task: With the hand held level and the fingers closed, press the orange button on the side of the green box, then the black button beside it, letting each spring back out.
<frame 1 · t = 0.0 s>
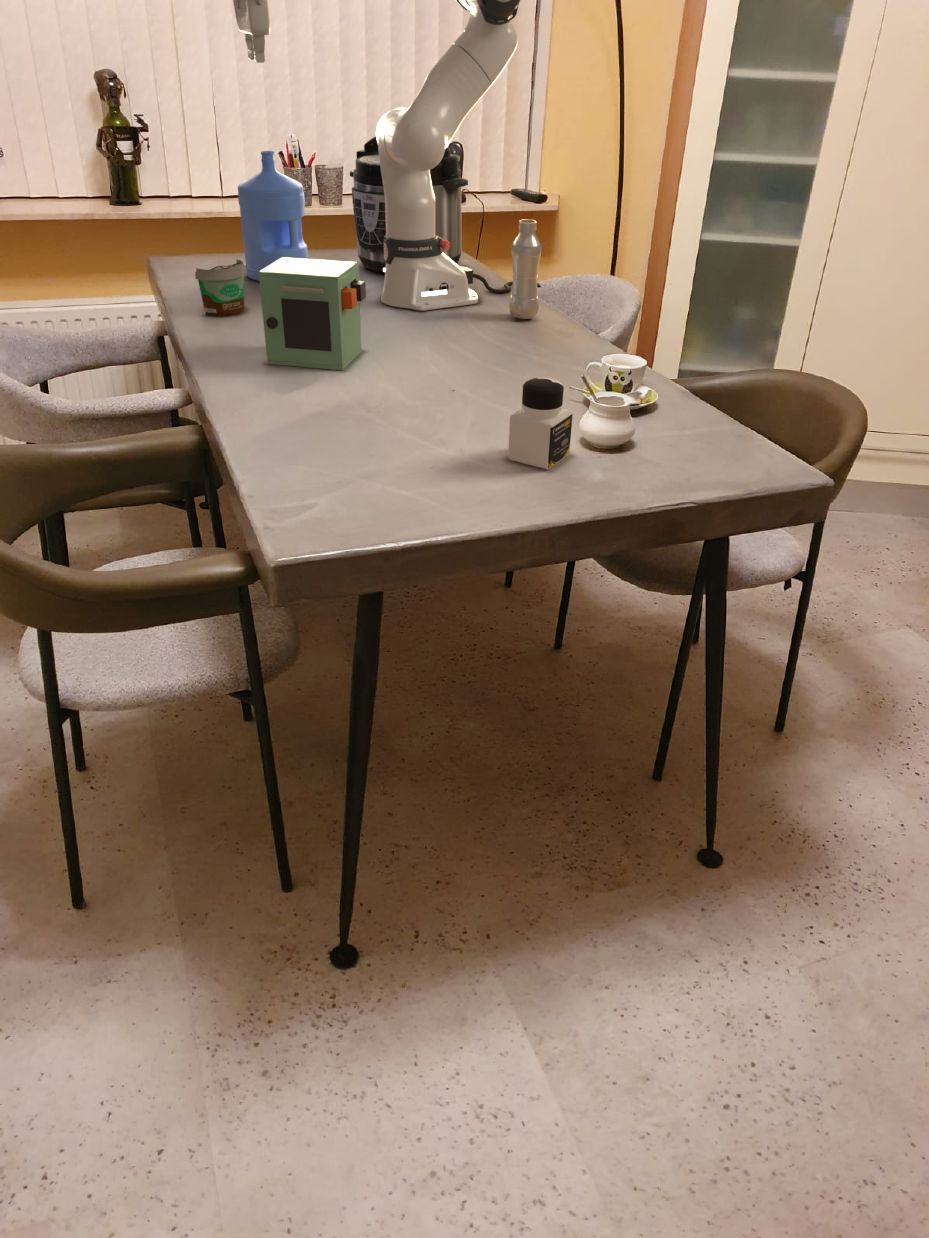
hand: (256, 61, 188), 48 cm above the table, tool pointing down, fingers open, 8 cm apart
pressure cooker: (407, 266, 250), on the table
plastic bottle: (523, 319, 211), on the table
start button: (346, 298, 176), point 12 cm above the table, slide at 0.1 cm
medicine bottle: (538, 458, 148), on the table
food container: (231, 314, 211), on the table
water jug: (278, 276, 240), on the table
timer button: (355, 291, 180), point 12 cm above the table, slide at 0.1 cm
green box: (315, 357, 186), on the table
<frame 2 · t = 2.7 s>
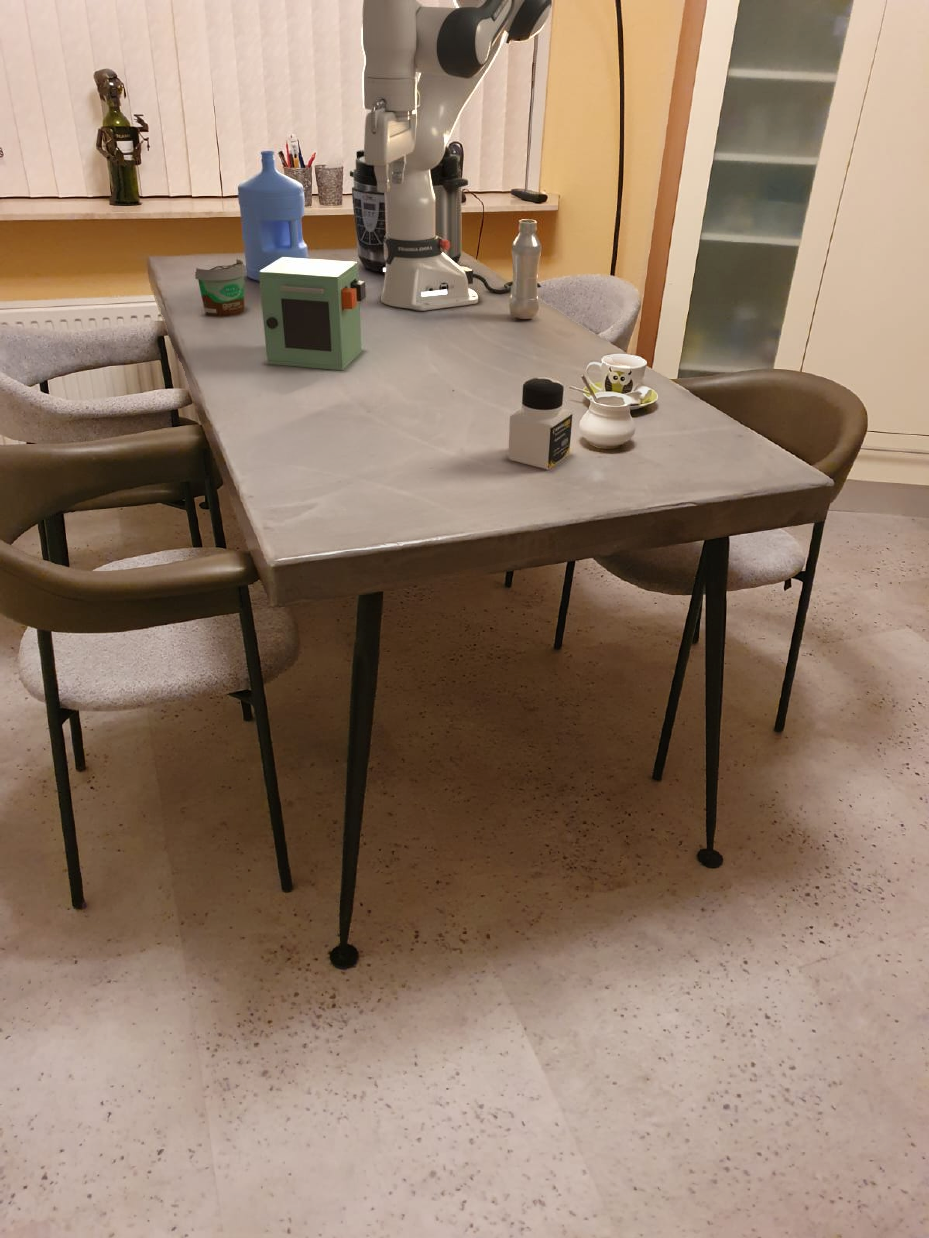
hand: (390, 187, 167), 31 cm above the table, tool pointing down, fingers open, 8 cm apart
nothing on the table moved.
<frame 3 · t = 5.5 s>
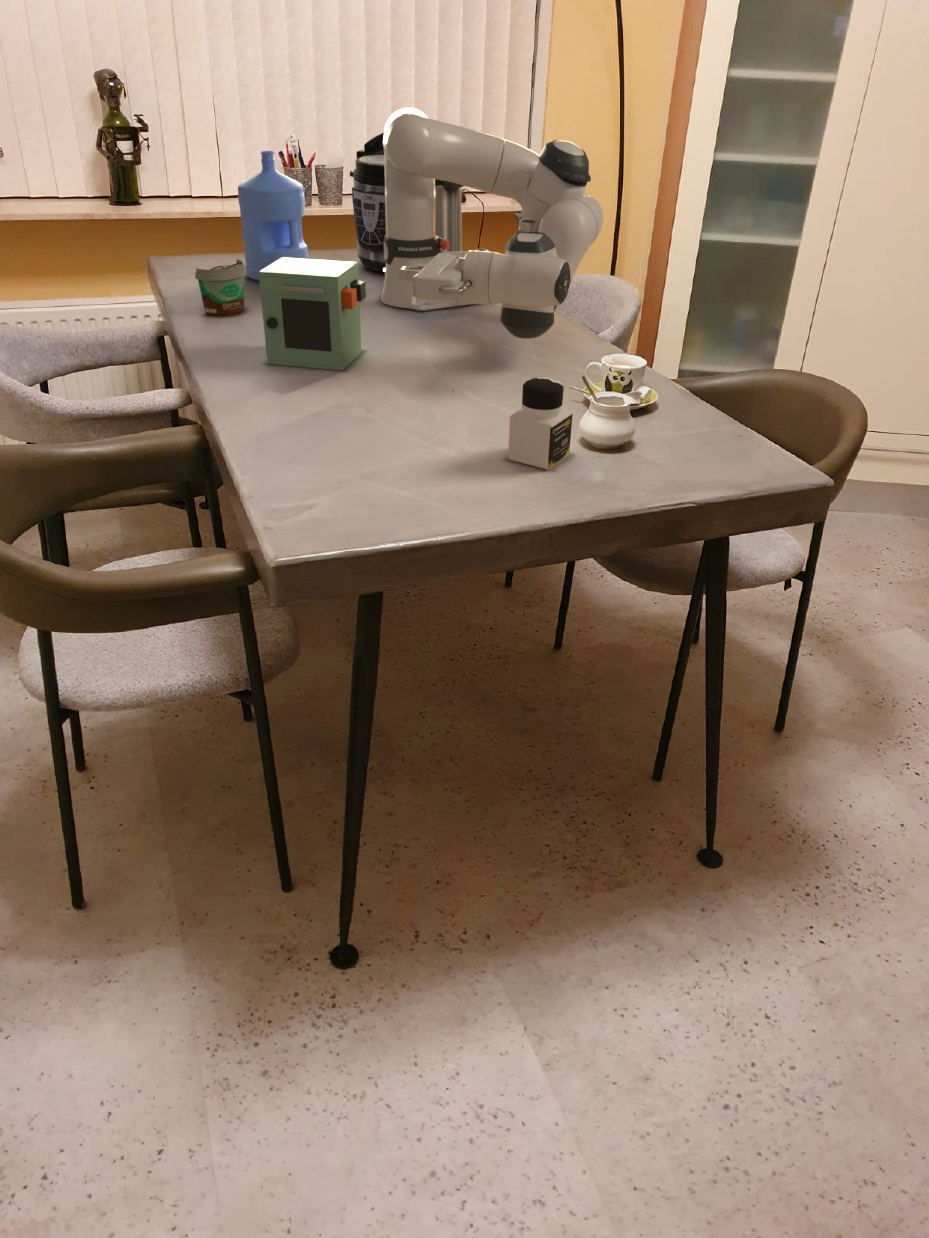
hand: (400, 273, 171), 18 cm above the table, tool horizontal, fingers closed
nothing on the table moved.
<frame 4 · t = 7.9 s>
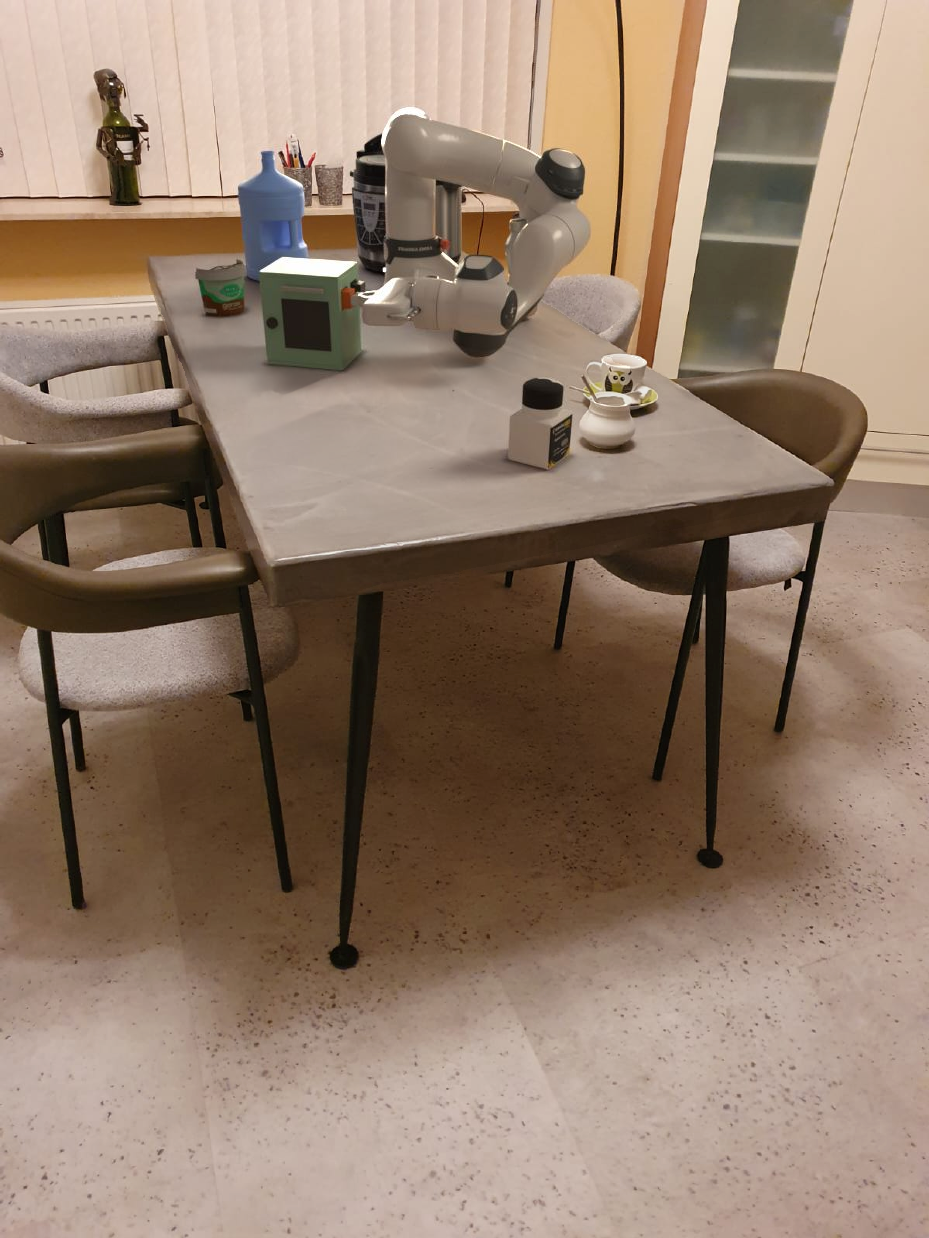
hand: (352, 298, 176), 13 cm above the table, tool horizontal, fingers closed, pressing on start button
start button: (344, 298, 176), point 12 cm above the table, slide at -0.3 cm, touching gripper
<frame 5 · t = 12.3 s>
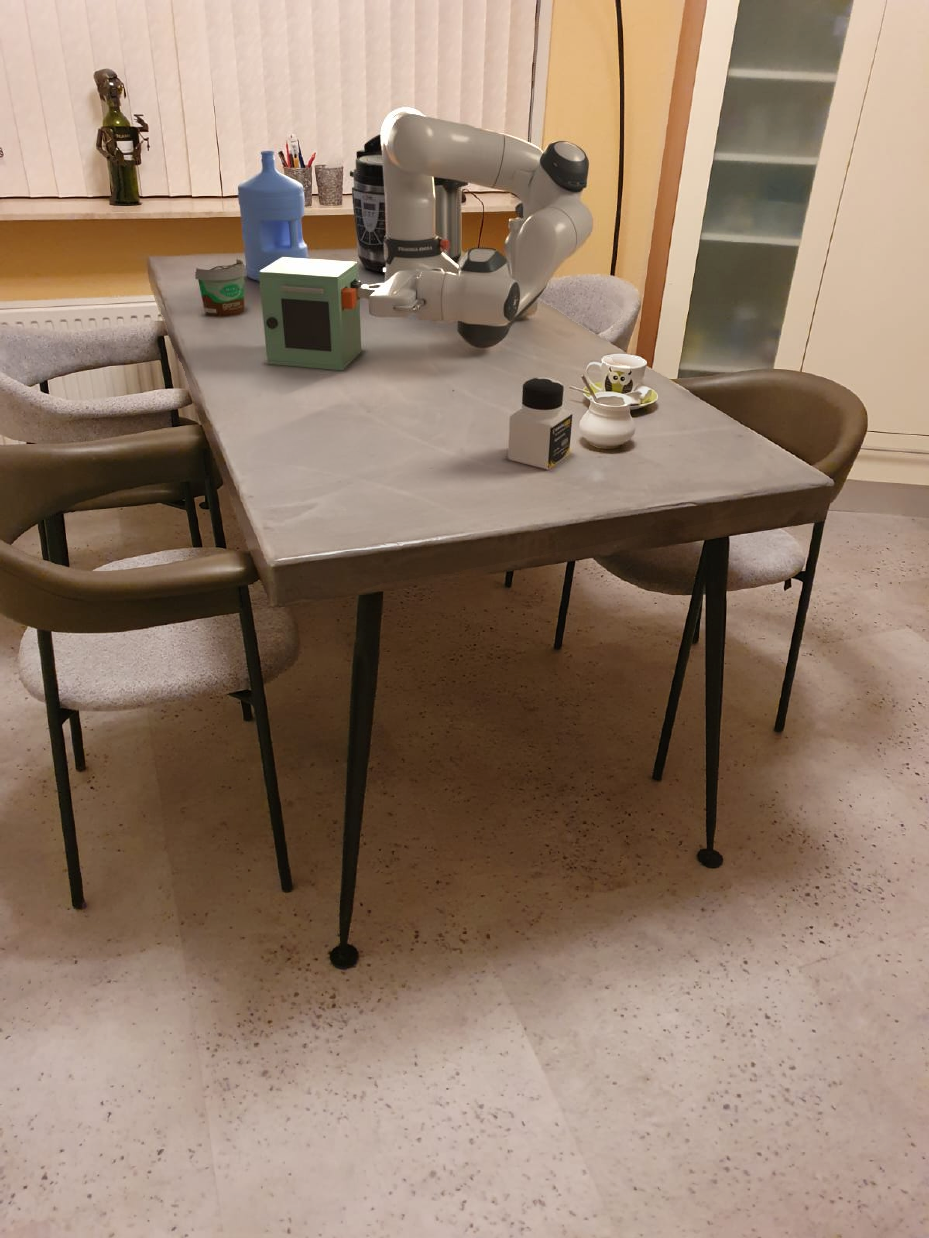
hand: (359, 291, 180), 13 cm above the table, tool horizontal, fingers closed, pressing on timer button
start button: (346, 298, 176), point 12 cm above the table, slide at 0.1 cm
timer button: (351, 290, 180), point 12 cm above the table, slide at -0.7 cm, touching gripper
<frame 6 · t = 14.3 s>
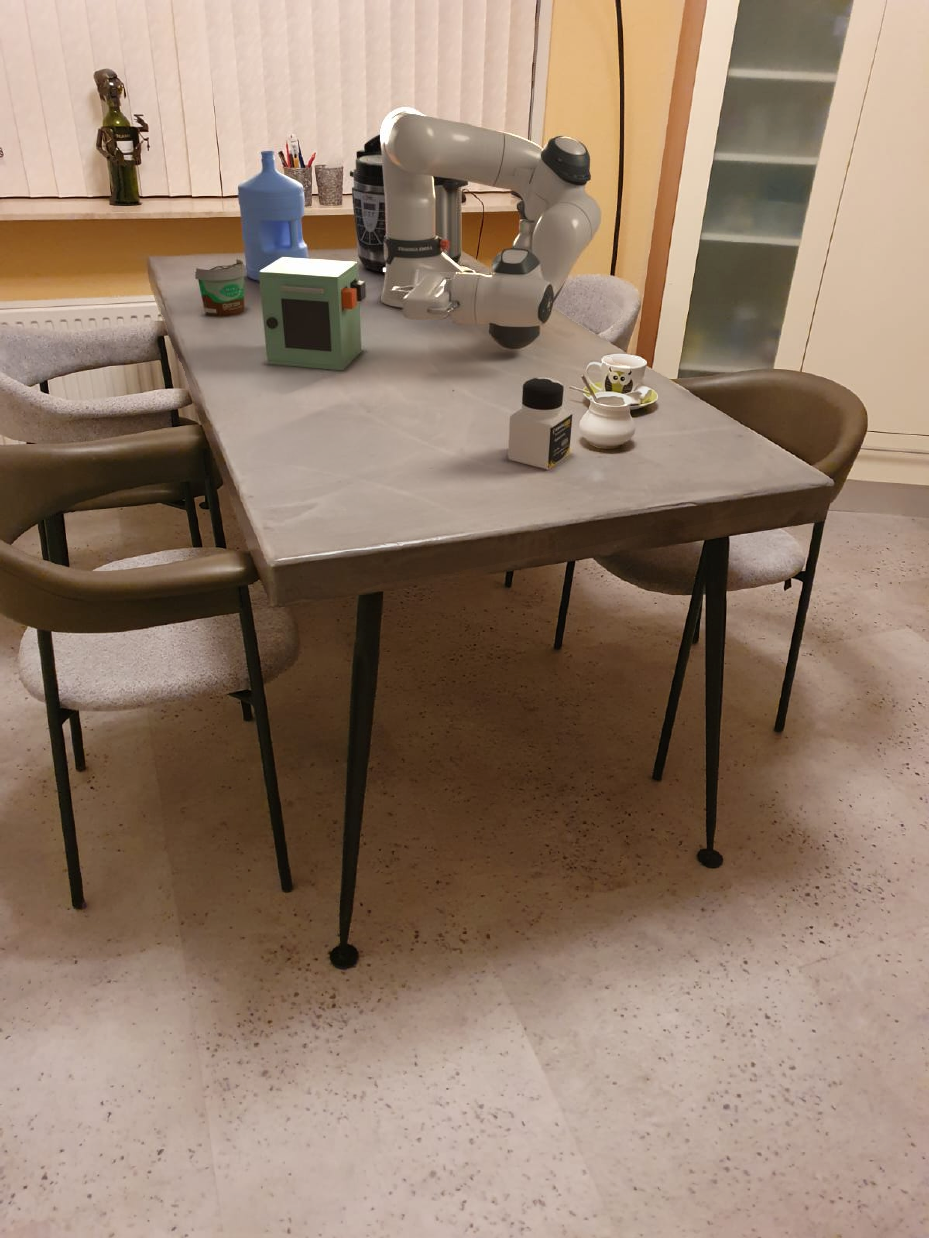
hand: (391, 293, 179), 13 cm above the table, tool horizontal, fingers closed
timer button: (355, 291, 180), point 12 cm above the table, slide at 0.1 cm
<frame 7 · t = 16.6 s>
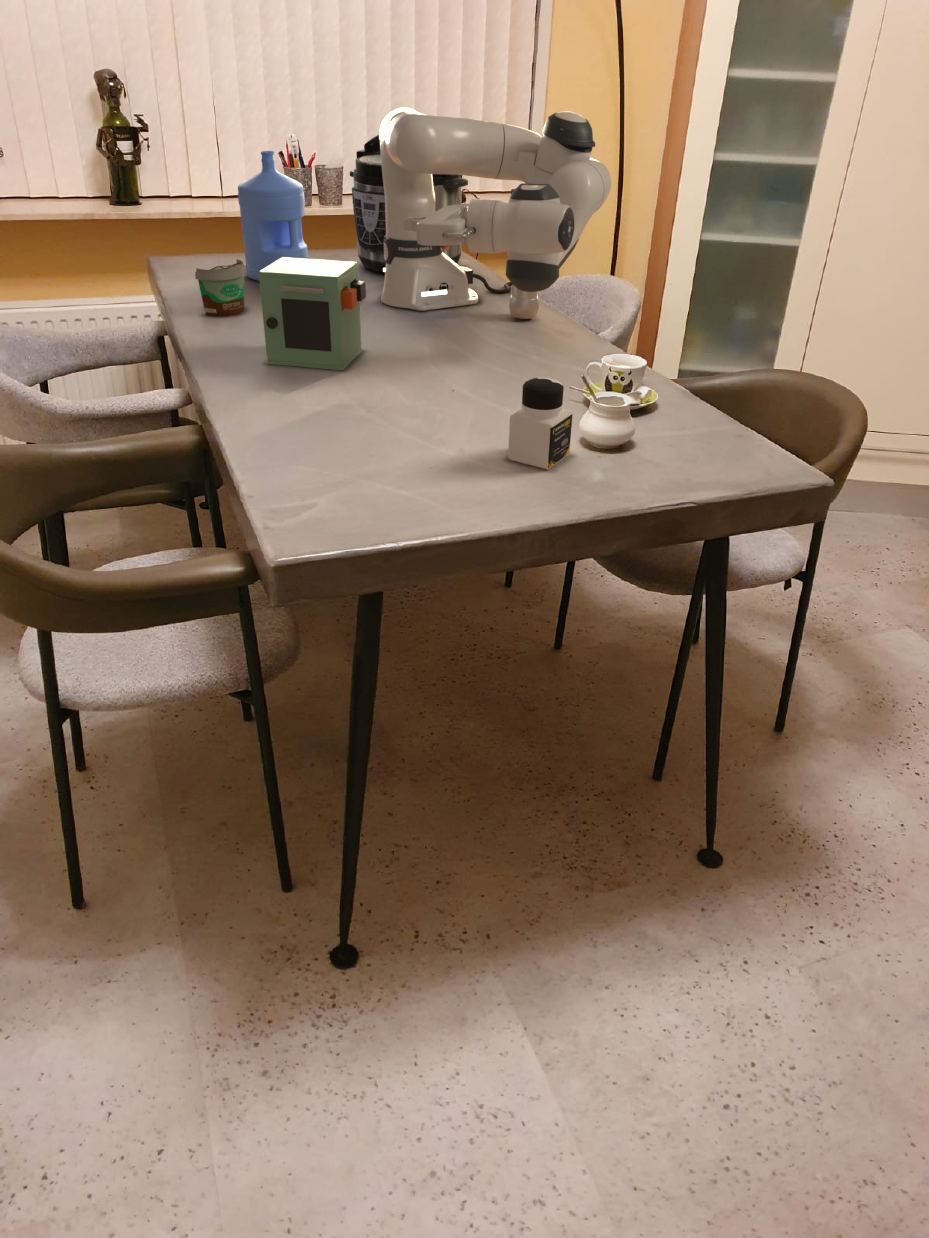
hand: (405, 224, 172), 25 cm above the table, tool horizontal, fingers closed
nothing on the table moved.
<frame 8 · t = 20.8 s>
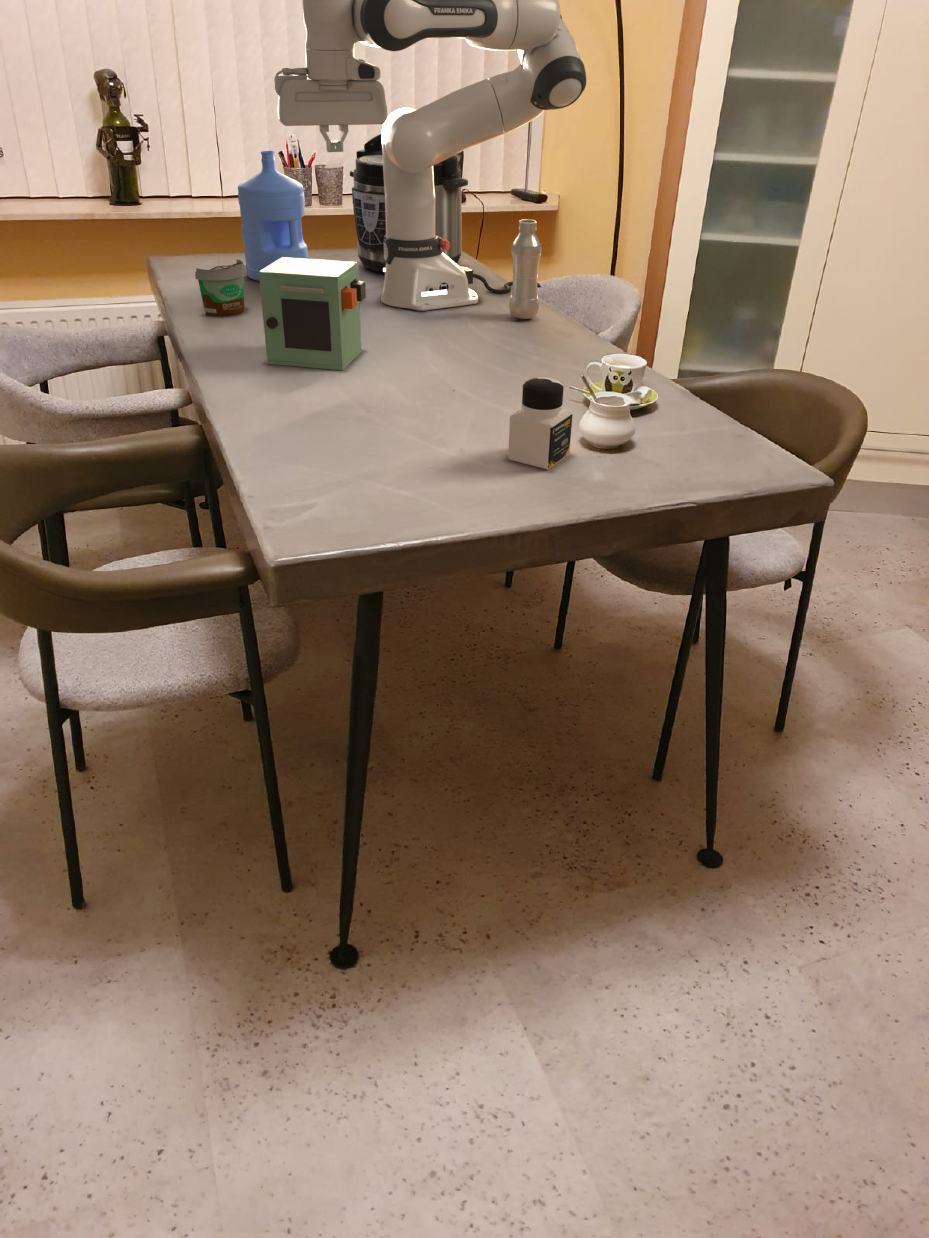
hand: (335, 152, 182), 34 cm above the table, tool pointing down, fingers closed
nothing on the table moved.
at the end: start button pushed in 1.3 cm at the most during the clip, back to where it started at the end; timer button pushed in 1.3 cm at the most during the clip, back to where it started at the end; timer button slide at 0.1 cm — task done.
